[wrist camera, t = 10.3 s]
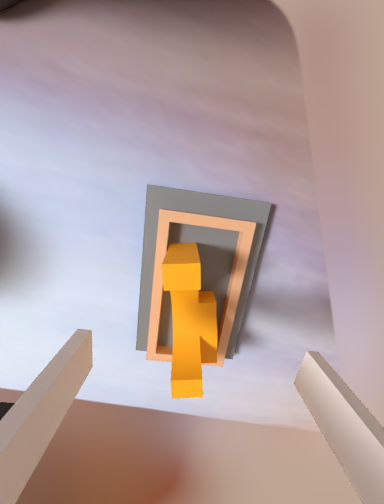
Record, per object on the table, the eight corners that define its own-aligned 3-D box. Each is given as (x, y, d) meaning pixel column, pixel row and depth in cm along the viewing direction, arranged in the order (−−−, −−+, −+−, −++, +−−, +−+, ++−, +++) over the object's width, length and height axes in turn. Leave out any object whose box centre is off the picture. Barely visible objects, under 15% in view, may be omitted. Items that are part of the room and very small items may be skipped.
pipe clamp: (212, 339, 21) (223, 396, 15) (176, 340, 21) (172, 398, 15) (213, 241, 18) (226, 262, 12) (170, 243, 18) (161, 264, 12)
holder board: (149, 185, 17) (144, 182, 15) (267, 202, 18) (277, 202, 16) (138, 343, 22) (132, 358, 20) (230, 352, 23) (235, 367, 21)
